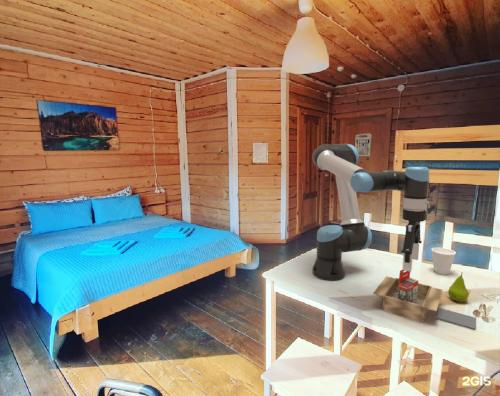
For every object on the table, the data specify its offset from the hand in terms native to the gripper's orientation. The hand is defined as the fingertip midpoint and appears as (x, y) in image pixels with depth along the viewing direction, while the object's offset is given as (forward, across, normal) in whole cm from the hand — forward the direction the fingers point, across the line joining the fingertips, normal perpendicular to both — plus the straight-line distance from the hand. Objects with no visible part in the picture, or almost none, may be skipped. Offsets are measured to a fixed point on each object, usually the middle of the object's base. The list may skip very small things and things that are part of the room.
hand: (410, 264), depth 109 cm
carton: (+17, 0, 0) cm, 17 cm away
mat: (+17, 0, -15) cm, 23 cm away
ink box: (+17, 0, 0) cm, 17 cm away
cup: (+17, +43, -7) cm, 47 cm away
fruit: (+17, +16, -15) cm, 28 cm away
